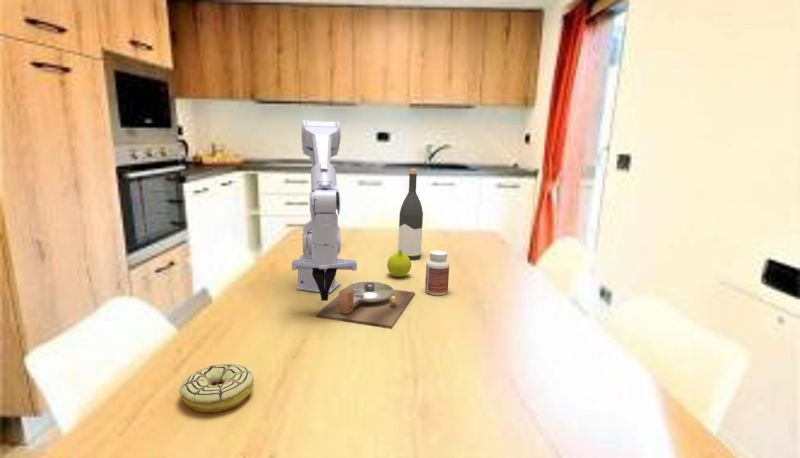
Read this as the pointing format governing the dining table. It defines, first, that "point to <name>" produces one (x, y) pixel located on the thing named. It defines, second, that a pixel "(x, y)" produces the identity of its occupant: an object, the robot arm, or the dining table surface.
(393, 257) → the yellow round fruit
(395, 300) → the dowel
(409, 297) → the board
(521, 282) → the dining table surface
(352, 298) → the metal lid
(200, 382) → the decorated donut
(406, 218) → the wine bottle
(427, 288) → the pill bottle
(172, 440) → the dining table surface
